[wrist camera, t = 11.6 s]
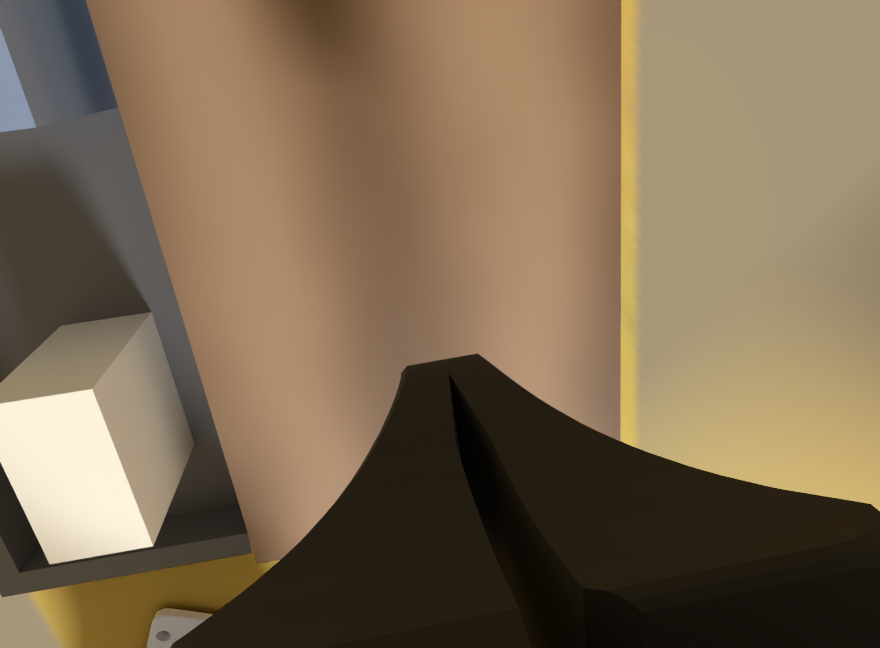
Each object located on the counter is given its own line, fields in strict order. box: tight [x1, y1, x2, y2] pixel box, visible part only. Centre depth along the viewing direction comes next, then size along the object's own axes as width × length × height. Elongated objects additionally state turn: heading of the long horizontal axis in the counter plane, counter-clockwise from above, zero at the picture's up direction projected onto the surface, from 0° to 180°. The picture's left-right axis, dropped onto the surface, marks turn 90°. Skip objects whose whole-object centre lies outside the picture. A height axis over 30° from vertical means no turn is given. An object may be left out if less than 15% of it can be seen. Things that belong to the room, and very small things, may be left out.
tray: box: [0, 0, 253, 597], centre depth 17 cm, size 8×20×2 cm, turn 6°
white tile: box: [0, 312, 194, 564], centre depth 17 cm, size 4×4×2 cm
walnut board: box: [86, 0, 621, 564], centre depth 17 cm, size 12×20×3 cm, turn 6°
